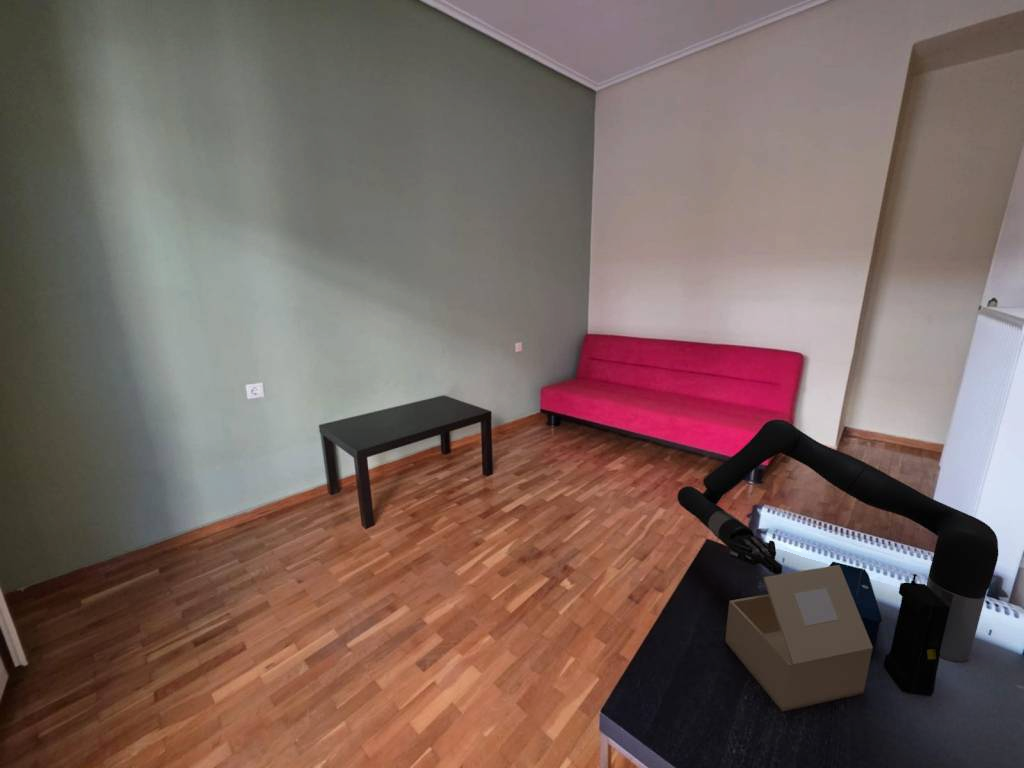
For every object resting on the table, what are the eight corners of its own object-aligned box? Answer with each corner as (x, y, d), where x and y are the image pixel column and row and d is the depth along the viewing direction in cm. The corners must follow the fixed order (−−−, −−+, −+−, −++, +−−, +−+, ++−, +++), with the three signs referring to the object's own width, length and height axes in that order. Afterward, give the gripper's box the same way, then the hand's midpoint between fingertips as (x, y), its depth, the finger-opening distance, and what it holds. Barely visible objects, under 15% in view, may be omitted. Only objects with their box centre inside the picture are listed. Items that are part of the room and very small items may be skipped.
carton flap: (763, 577, 90) (764, 577, 90) (837, 565, 93) (839, 565, 93) (791, 663, 84) (794, 664, 83) (870, 647, 87) (873, 647, 87)
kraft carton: (725, 641, 104) (729, 600, 101) (794, 628, 107) (800, 588, 105) (782, 711, 87) (789, 664, 84) (863, 693, 90) (872, 647, 87)
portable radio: (939, 702, 88) (965, 601, 82) (905, 697, 89) (928, 597, 83) (912, 669, 95) (934, 574, 89) (881, 665, 96) (901, 571, 91)
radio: (878, 663, 97) (893, 589, 92) (831, 647, 102) (843, 576, 97) (862, 604, 114) (875, 540, 110) (823, 593, 119) (833, 531, 114)
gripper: (709, 521, 113) (756, 561, 96) (752, 515, 115) (805, 553, 98) (707, 545, 114) (753, 589, 98) (749, 539, 117) (801, 580, 100)
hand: (779, 571), depth 98 cm, fingers closed
